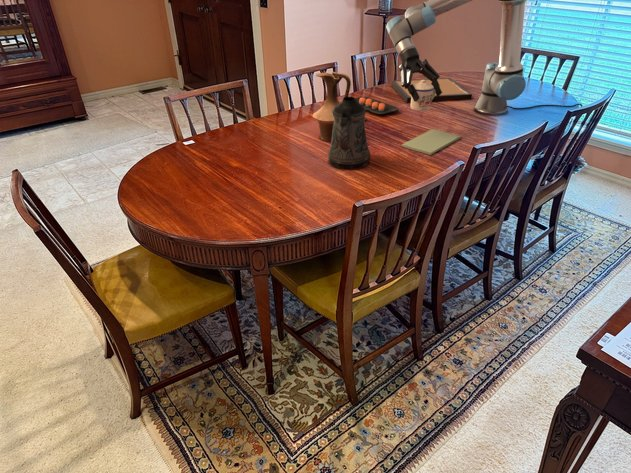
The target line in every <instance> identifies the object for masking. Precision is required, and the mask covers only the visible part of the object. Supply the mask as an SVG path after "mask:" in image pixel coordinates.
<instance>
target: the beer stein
mask: <svg viewBox="0 0 631 473" xmlns="http://www.w3.org/2000/svg"><path fill="white" fill-rule="evenodd" d="M355 98H356V97H353V96H348V97H343V98H342V100H341V102H339V104H338V105H337V106H336V107H335V108H334V109H333V111H332V114H333V117H334V124H333V131H332V140H331V141H330V146H329V150H328V152H327V157H328V163H329V164H330V165H331V166H332V167H334V168H336V169H339V170H340V169H341V170H346V171H347V170H349V171H350V170H357V169H361V168H365V167H366V166H367V165H368V164H369V161H370V157H371V151H370V149H369V146H368V141H367V140H368V139H367V134H366V132H367V131H366V126H365V120H364V118H365V115H366V112H367V110H365V109H364V107H363V106H362V105H360V104H359V103H358V102H357V101H356V100H355Z"/></svg>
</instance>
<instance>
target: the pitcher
mask: <svg viewBox="0 0 631 473" xmlns="http://www.w3.org/2000/svg"><path fill="white" fill-rule="evenodd" d="M315 77H319V78H321V79H322V80H323V81H324V83H325V85H326V98H325V101H324V102H323V105H322V106H321V107H320V108H319V109H317V111H315V112H314V113H313V114H312V118H313V119H314V120H317V123H318V128H319V135H320V136H319V138H320V139H321V140H322V141H323V142H331V140H332V131H333V124H334V117H333V114H332V111H333V109H334V108H335V107H336V106H337V105H338V104H339V103H340V101H339V99H338V96H337V86H338V84H339V83H340V82H341V80H342V79H344V80H345V81H346V86H345V93H344V97H349V94H350V91H351V85H352V84H351V83H352V82H351V78H350V77H349V75H348V74H346V73H340V72H336V71H332V73H329V72H320V73H316V74H315ZM344 97H343V98H344Z"/></svg>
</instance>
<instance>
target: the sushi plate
mask: <svg viewBox="0 0 631 473" xmlns="http://www.w3.org/2000/svg"><path fill="white" fill-rule="evenodd" d="M354 98H355V100H356V101H357V102H358V103H359V104H360V105H362V106H363V107H364V109H365V110H366V112H369V113H372V114H375V115H378V116H383V115H389V114H391V113H395V112H398V111H399V110H400V108H399V107H397V106H396V105H392V104H390V103H386V102H384V101H380V100H377V99H375V98H372V97H369V96H359V97H354ZM364 122H367V119H366V117H364Z"/></svg>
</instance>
